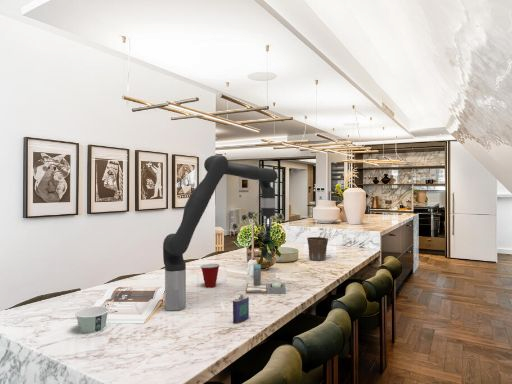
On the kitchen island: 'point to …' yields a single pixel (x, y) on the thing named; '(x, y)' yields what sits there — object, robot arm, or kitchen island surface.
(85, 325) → the food container
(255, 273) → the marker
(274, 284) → the button
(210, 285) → the plastic cup
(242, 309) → the flask
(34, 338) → the kitchen island surface
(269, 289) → the button housing
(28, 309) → the kitchen island surface
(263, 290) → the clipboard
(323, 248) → the plant pot
